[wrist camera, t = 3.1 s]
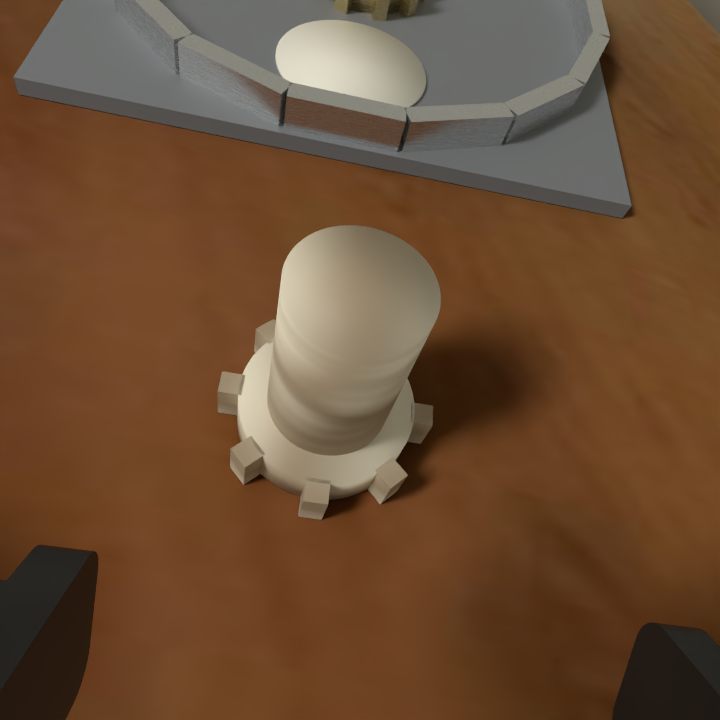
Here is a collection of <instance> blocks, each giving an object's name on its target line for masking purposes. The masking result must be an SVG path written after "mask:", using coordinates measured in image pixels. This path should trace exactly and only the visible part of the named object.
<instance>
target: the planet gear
mask: <svg viewBox="0 0 720 720" xmlns="http://www.w3.org/2000/svg"><path fill="white" fill-rule="evenodd" d="M440 304H441V295H440V288H439V284H438V281H437V278H436V276H435V274H434V272H433V270H432V268H431V267H430V265H429V264H428V263H427V261H426V260H425V259H424V258H423V257H422V255H421V254H420V253H419V252H417V251H416V250H415V249H414V248H413V247H412V246H410V245H409V244H407V243H406V242H405V241H403V240H401V239H399V238H398V237H396V236H394V235H391V234H389V233H387V232H384V231H381V230H378V229H374V228H370V227H364V226H354V225H345V226H335V227H329V228H326V229H322V230H320V231H317V232H315V233H312V234H311V235H309V236H307V237H305V238H304V239H303V240H301V241H300V242H299V243H298V244H297V245H296V246H295V247H294V248H293V249H292V251H291V252H290V253H289V255H288V257H287V259H286V261H285V263H284V266H283V270H282V276H281V284H280V293H279V301H278V309H277V317H276V321H275V320H274V319H273V320H271V321H269V322H268V323H266V324H264V325H262V326H260V327H258V328H257V329H256V334H255V348H254V352H255V354H254V355H253V357H252V358H251V360H250V361H249V363H248V364H247V366H246V368H245V370H244V372H243V374H242V375H241V374H235V373H229V372H223V371H222V375H221V380H220V384H219V388H218V413H225V414H231V415H237V426H238V432H239V437H240V440H241V442H240V443H239V444H237V445H236V446H234V447H233V448H231V454H230V467H231V469H232V470H233V471H234V473H235V474H236V475H237V477H238V478H239V479H240V481H241V482H242V483H243V485H244V484H246V483H247V482H249V481H250V480H252V479H253V478H255V477H256V476H258V475H259V474H261V475H263V476H264V477H265V478H266V479H267V480H268V481H270V482H271V483H273V484H274V485H276V486H277V487H279V488H281V489H283V490H285V491H287V492H289V493H291V494H294V495H297V496H300V497H301V500H300V507H299V514H298V517H306V518H313V519H320V520H322V517H323V515H324V513H325V511H326V508H327V506H328V501H329V500H336V499H341V498H347V497H350V496H353V495H356V494H359V493H361V492H363V491H365V490H367V489H368V490H369V492H370V493H371V494H372V495H373V496H374V498H375V499H376V500H377V501H378V502H379V504H382V503H383V502H384V501H385V500H387V499H388V498H389V497H390V496H392V495H393V494H394V493H395V492H397V490H398V489H399V487H400V486H401V485H402V483H403V482H404V480H405V479H406V477H407V476H408V475H407V474H406V472H405V471H404V470H403V469H402V468H401V467H400V465H399V464H398V463H397V462H396V459H397V458H398V456H399V454H400V453H401V451H402V449H403V448H404V446H405V445H406V443H407V442H412V443H418V444H421V443H422V441H423V440H424V438H425V437H426V435H427V433H428V432H429V430H430V429H431V427H432V426H433V406H432V405H425V404H419V403H414V398H413V392H412V389H411V386H410V383H409V381H408V379H407V378H408V376H409V374H410V372H411V370H412V368H413V366H414V364H415V362H416V360H417V358H418V356H419V354H420V352H421V350H422V348H423V346H424V344H425V342H426V340H427V338H428V336H429V334H430V332H431V330H432V328H433V326H434V324H435V322H436V319H437V317H438V314H439V310H440Z"/></svg>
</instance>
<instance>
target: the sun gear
mask: <svg viewBox="0 0 720 720" xmlns="http://www.w3.org/2000/svg"><path fill="white" fill-rule="evenodd" d="M332 1H334V2H335V3H334V9H335V10H337V11H339V12H342V13H344V14H347V13H348V12H349V11H350V9H352V10H355V11H359V12H363V13H369V14H370V16H371V18H372V21H386V17H387V14H392V13H396V12H399V13H401V14H402V15H404V16H405V17H409V16H411V15H413V14H415V12H416V8H417V5H418V1H420V2H424V0H332Z"/></svg>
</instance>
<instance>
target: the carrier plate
mask: <svg viewBox="0 0 720 720" xmlns="http://www.w3.org/2000/svg"><path fill="white" fill-rule="evenodd" d="M160 1H161V2H162V3H163V4H164V5H165V6H166V7H167V8H168V9H169V10H170V11H171V12H172V13H173V14H174V15H175V16H176V17H177V18H178V19H179V20H180V21H181V22H182V23H183V24H184V25H185V26H186V27H187V28H188V29H189V30H190V31H191V32H192V33H193V34H195V35H197V36H199V37H201V38H203V39H205V40H207V41H209V42H211V43H213V44H215V45H217V46H219V47H221V48H223V49H225V50H227V51H229V52H231V53H233V54H235V55H237V56H239V57H241V58H243V59H245V60H247V61H250V62H252V63H254V64H256V65H258V66H260V67H262V68H264V69H266V70H268V71H270V72H272V73H274V74H276V75H278V76H280V77H282V78H284V79H286V80H288V81H290V82H292V83H297V84H301V85H306V86H310V87H315V88H319V89H324V90H329V91H333V92H338V93H342V94H347V95H352V96H356V97H361V98H365V99H370V100H375V101H379V102H384V103H388V104H393V105H398V106H402V107H420V106H442V105H464V104H486V103H504V102H507V101H509V100H511V99H514V98H516V97H518V96H520V95H523V94H525V93H527V92H529V91H532V90H534V89H536V88H538V87H541V86H543V85H545V84H547V83H550V82H552V81H554V80H556V79H559V78H561V77H563V76H565V75H568V74H569V72H570V71H571V69H572V67H573V66H574V64H575V62H576V60H577V59H578V53H577V48H576V43H575V38H574V32H573V27H572V22H571V17H570V12H569V11H568V9H567V8H566V7H565V6H564V4H563V3H562V2H561V0H424V2H420V1H418V5H417V8H416V12H415V14H413V15H411V16H409V17H405V16H404V15H402V14H401V13H399V12H396V13H392V14H387V17H386V21H372V18H371V16H370V14H369V13H363V12H359V11H355V10H352V9H350V11H349V12H348V13H347V14H344V13H342V12H339V11H337V10H335V9H334V3H335V2H334V1H332V0H160ZM14 81H15V84H16V87H17V90H18V93H19V94H20V95H25V96H29V97H34V98H39V99H44V100H49V101H54V102H59V103H63V104H68V105H73V106H78V107H83V108H88V109H93V110H98V111H102V112H107V113H112V114H117V115H122V116H127V117H132V118H137V119H141V120H146V121H151V122H156V123H161V124H166V125H171V126H175V127H180V128H185V129H190V130H195V131H200V132H205V133H210V134H214V135H219V136H224V137H229V138H234V139H239V140H244V141H248V142H253V143H258V144H263V145H268V146H273V147H278V148H283V149H287V150H292V151H297V152H302V153H307V154H312V155H317V156H321V157H326V158H331V159H336V160H341V161H346V162H351V163H356V164H360V165H365V166H370V167H375V168H380V169H385V170H390V171H395V172H399V173H404V174H409V175H414V176H419V177H424V178H429V179H433V180H438V181H443V182H448V183H453V184H458V185H463V186H468V187H472V188H477V189H482V190H487V191H492V192H497V193H502V194H506V195H511V196H516V197H521V198H526V199H531V200H536V201H541V202H545V203H550V204H555V205H560V206H565V207H570V208H575V209H580V210H584V211H589V212H594V213H599V214H604V215H609V216H614V217H618V218H623V217H624V215H625V214H626V213H627V211H628V210H629V209H630V208H631V206H632V205H631V200H630V196H629V191H628V187H627V182H626V178H625V173H624V169H623V164H622V160H621V155H620V151H619V146H618V142H617V137H616V133H615V128H614V124H613V119H612V115H611V110H610V106H609V101H608V97H607V92H606V88H605V83H604V79H603V74H602V70H601V65H600V61H599V60H598V62H597V64H596V66H595V67H594V69H593V71H592V73H591V75H590V77H589V79H588V81H587V82H586V84H585V86H584V88H583V90H582V92H581V93H580V95H579V97H578V99H577V101H576V102H575V104H574V106H573V108H572V110H571V111H569V113H568V114H566V115H564V116H562V117H560V118H558V119H556V120H554V121H552V122H550V123H548V124H546V125H544V126H542V127H540V128H537V129H535V130H533V131H531V132H529V133H527V134H525V135H523V136H521V137H519V138H517V139H515V140H513V141H511V142H509V143H507V144H503V143H502V144H501V146H488V147H474V148H460V149H445V150H431V151H417V152H402V151H401V149H400V147H398V151H397V152H394V151H389V150H384V149H379V148H375V147H370V146H365V145H360V144H356V143H351V142H346V141H341V140H336V139H332V138H327V137H322V136H317V135H313V134H308V133H303V132H298V131H293V130H289V129H284V122H283V123H282V124H281V125H280V126H279V127H278V126H276V125H274V124H272V123H270V122H268V121H266V120H264V119H262V118H260V117H258V116H256V115H254V114H252V113H250V112H249V111H247V110H245V109H243V108H241V107H239V106H237V105H235V104H233V103H231V102H229V101H227V100H225V99H223V98H221V97H219V96H217V95H215V94H213V93H211V92H209V91H207V90H205V89H203V88H201V87H199V86H197V85H195V84H193V83H191V82H189V81H187V80H185V79H183V78H181V77H180V73H178V74H176V73H175V72H174V71H173V70H172V69H171V68H170V67H169V66H168V65H167V64H166V63H165V62H164V61H163V60H162V59H161V58H160V57H159V56H158V55H157V54H156V52H155V51H154V50H153V49H152V48H151V47H150V46H149V45H148V44H147V43H146V42H145V41H144V40H143V39H142V38H141V37H140V36H139V35H138V34H137V33H136V32H135V31H134V29H133V28H132V27H131V26H130V25H129V24H128V23H127V22H126V21H125V20H124V19H123V18H122V17H121V16H120V15H119V14H118V13H117V9H115V5H114V0H63V1H62V3H61V4H60V6H59V7H58V9H57V11H56V12H55V14H54V15H53V17H52V18H51V20H50V21H49V23H48V24H47V26H46V28H45V29H44V31H43V32H42V34H41V35H40V37H39V38H38V40H37V41H36V43H35V45H34V46H33V48H32V49H31V51H30V52H29V54H28V55H27V57H26V59H25V60H24V62H23V63H22V65H21V66H20V68H19V69H18V71H17V72H16V74H15V76H14Z"/></svg>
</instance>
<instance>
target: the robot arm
mask: <svg viewBox="0 0 720 720" xmlns="http://www.w3.org/2000/svg"><path fill="white" fill-rule="evenodd" d="M97 573H98V555H97V553H96V552H94V551H87V550H79V549H71V548H63V547H55V546H47V545H38V546H36V547H35V548H34V549H33V550H32V551H31V552H30V553H29V554H28V556H27V557H26V558H25V559H24V560H23V562H22V563H21V564H20V565H19V566H18V568H17V569H16V570H15V571H14V572H13V574H12V575H11V576H10V577H9V578H8V579H7V581H3V580H0V720H65V719H66V717H67V715H68V713H69V711H70V709H71V707H72V705H73V703H74V701H75V699H76V696H77V694H78V691H79V688H80V686H81V682H82V679H83V676H84V672H85V668H86V664H87V660H88V655H89V648H90V639H91V629H92V620H93V611H94V601H95V592H96V582H97ZM612 720H720V647H719V646H718V644H717V643H716V642H715V641H714V640H713V639H712V638H711V637H710V636H709V635H708V634H707V633H706V632H704V631H703V630H701V629H698V628H691V627H683V626H675V625H667V624H659V623H648V624H646V625H644V626H643V627H642V628H641V629H640V631H639V633H638V635H637V638H636V641H635V644H634V647H633V650H632V653H631V656H630V659H629V662H628V665H627V669H626V672H625V675H624V678H623V681H622V684H621V687H620V690H619V693H618V696H617V699H616V702H615V706H614V710H613V719H612Z"/></svg>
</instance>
